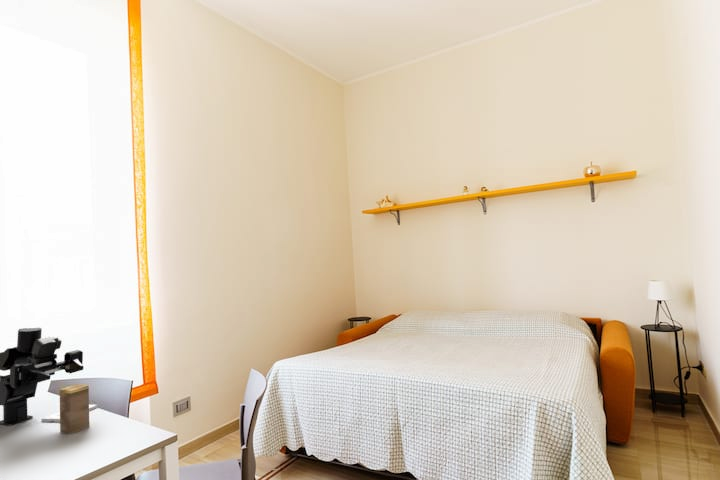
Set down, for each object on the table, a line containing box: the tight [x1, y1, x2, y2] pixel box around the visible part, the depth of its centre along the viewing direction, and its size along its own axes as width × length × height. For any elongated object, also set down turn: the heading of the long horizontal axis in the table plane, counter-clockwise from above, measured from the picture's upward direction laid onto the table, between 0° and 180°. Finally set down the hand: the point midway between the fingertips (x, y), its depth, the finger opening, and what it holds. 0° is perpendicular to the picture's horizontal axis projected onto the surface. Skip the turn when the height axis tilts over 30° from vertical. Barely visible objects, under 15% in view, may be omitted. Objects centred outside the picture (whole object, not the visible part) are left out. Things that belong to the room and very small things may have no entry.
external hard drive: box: [40, 403, 98, 423], centre depth 132 cm, size 2×8×12 cm
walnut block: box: [59, 383, 90, 435], centre depth 120 cm, size 5×5×12 cm
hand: (66, 372), depth 120 cm, fingers open, 9 cm apart
